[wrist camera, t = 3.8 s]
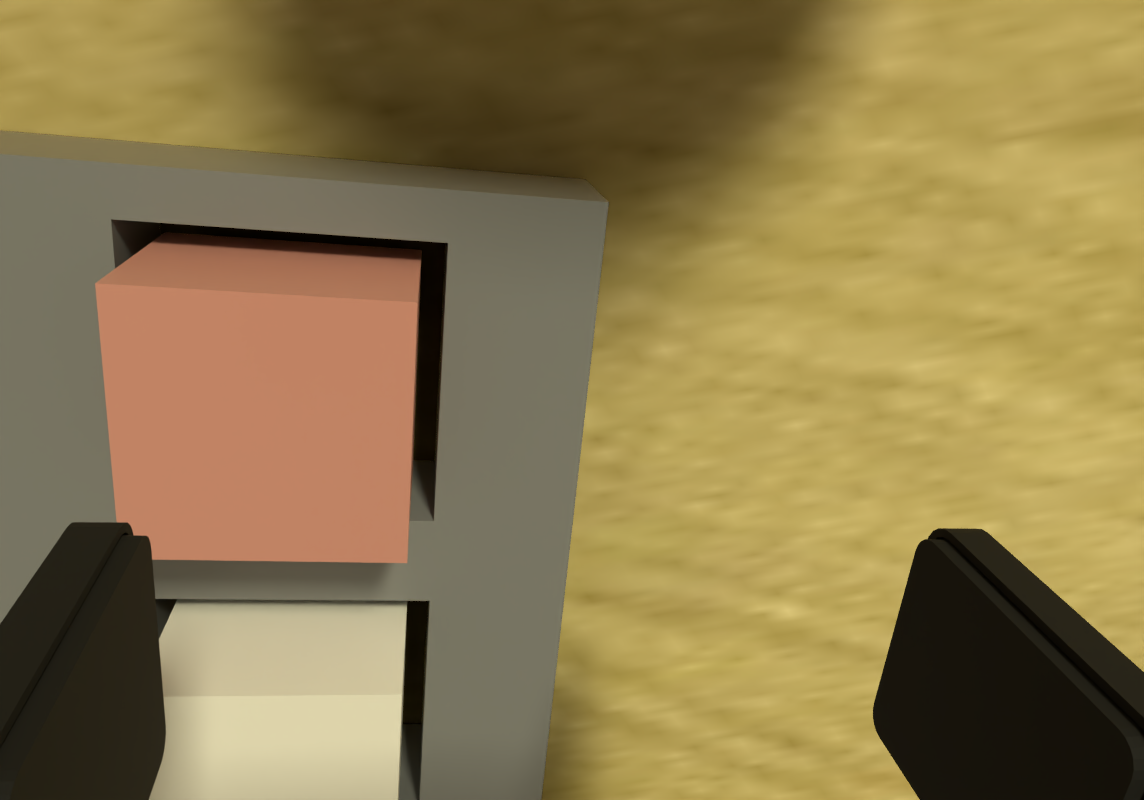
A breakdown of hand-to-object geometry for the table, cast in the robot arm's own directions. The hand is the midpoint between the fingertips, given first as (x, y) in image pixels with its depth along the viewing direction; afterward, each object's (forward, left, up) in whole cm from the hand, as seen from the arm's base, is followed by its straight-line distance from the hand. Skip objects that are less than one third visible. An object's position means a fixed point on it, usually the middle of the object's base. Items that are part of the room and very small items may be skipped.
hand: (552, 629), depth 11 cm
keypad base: (+4, +8, -11) cm, 14 cm away
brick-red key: (+4, 0, -10) cm, 11 cm away
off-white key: (+4, +8, -10) cm, 13 cm away
